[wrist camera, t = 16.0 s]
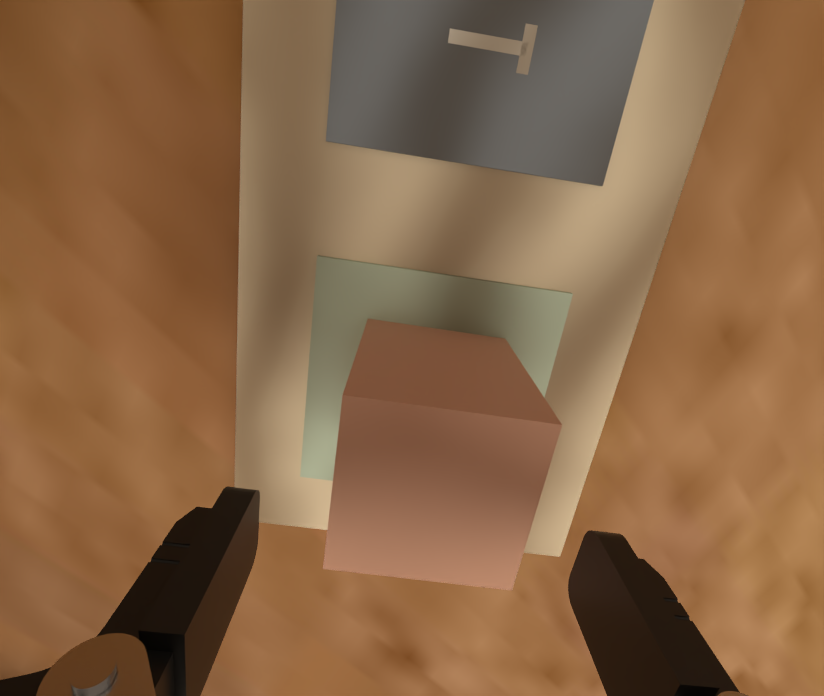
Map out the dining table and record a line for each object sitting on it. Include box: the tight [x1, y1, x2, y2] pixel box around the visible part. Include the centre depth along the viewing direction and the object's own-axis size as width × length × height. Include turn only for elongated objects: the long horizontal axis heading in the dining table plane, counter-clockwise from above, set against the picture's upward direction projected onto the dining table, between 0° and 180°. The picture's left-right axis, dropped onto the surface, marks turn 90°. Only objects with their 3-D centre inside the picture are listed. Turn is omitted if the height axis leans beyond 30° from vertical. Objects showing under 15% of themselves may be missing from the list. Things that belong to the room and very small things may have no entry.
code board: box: [235, 0, 745, 557], centre depth 17 cm, size 16×30×1 cm, turn 172°
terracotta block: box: [323, 319, 562, 590], centre depth 15 cm, size 6×6×7 cm
